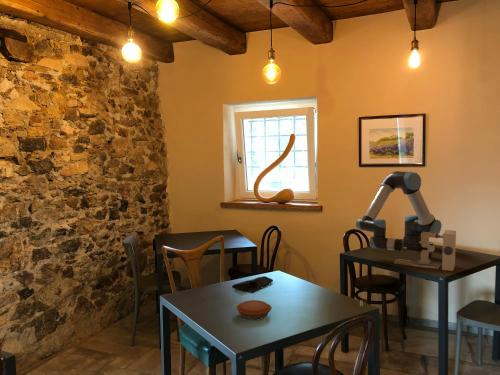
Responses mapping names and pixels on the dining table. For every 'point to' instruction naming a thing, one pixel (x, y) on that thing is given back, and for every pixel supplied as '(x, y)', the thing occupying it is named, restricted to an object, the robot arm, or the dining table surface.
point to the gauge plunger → (438, 236)
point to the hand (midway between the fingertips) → (434, 248)
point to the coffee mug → (429, 251)
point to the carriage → (425, 242)
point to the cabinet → (448, 250)
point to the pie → (253, 309)
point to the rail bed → (416, 263)
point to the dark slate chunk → (253, 284)
